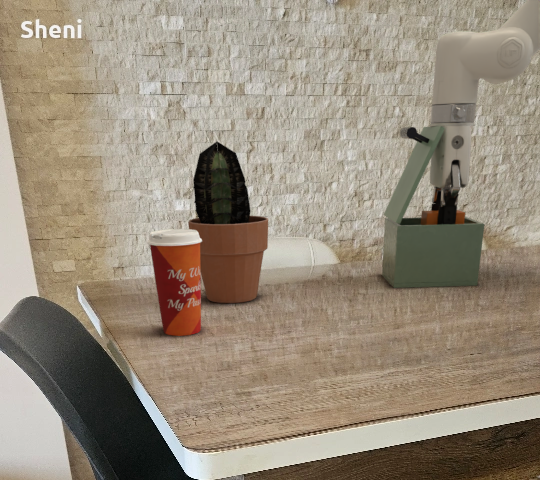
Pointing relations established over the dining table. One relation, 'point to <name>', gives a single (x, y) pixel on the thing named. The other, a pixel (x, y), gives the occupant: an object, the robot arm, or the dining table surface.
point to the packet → (432, 217)
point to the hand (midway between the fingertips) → (442, 226)
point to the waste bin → (431, 253)
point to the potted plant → (227, 228)
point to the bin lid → (413, 169)
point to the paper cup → (177, 279)
